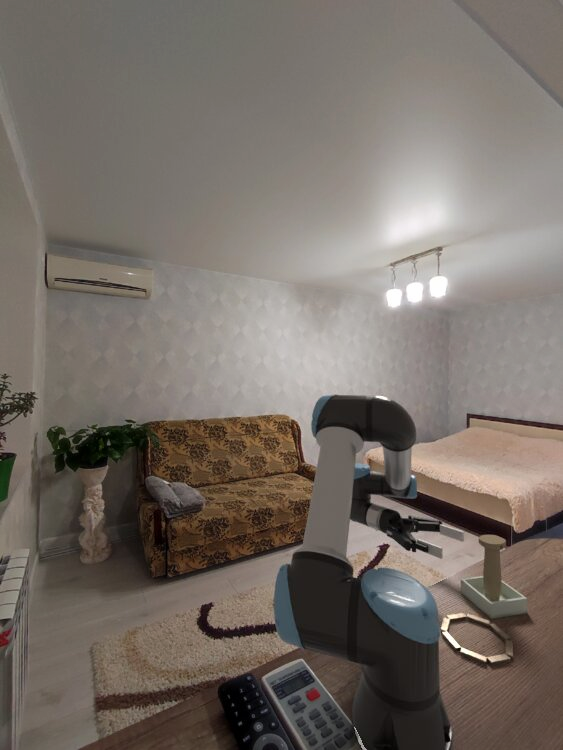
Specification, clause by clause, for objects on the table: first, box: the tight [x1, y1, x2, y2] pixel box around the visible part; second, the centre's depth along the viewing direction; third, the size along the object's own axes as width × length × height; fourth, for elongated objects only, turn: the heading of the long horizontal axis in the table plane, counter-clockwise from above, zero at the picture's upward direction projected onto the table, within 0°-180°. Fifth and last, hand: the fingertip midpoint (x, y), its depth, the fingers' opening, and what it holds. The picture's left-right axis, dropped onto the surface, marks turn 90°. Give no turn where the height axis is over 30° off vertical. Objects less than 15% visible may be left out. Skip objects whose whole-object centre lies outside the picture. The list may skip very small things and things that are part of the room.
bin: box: [460, 575, 528, 620], centre depth 85 cm, size 10×10×4 cm
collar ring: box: [440, 612, 514, 667], centre depth 73 cm, size 13×13×1 cm
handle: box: [478, 534, 507, 602], centre depth 85 cm, size 5×6×15 cm
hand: (453, 544), depth 92 cm, fingers open, 13 cm apart
